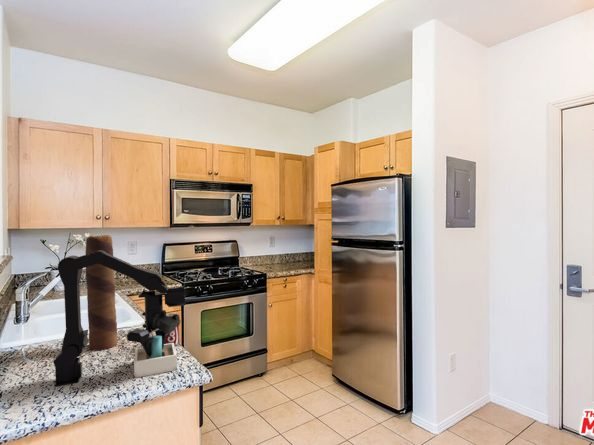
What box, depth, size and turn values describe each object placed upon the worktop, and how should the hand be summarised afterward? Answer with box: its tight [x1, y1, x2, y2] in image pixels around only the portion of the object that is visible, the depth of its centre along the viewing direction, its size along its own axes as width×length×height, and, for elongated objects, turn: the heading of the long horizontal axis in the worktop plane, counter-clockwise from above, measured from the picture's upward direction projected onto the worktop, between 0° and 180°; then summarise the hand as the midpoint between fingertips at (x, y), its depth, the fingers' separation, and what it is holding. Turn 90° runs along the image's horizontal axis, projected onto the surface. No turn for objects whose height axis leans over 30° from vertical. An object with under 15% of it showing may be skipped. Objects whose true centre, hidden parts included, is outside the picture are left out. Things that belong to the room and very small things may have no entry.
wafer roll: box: [85, 234, 118, 351], centre depth 141 cm, size 10×11×45 cm
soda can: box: [164, 313, 180, 347], centre depth 141 cm, size 7×7×12 cm
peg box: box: [133, 343, 178, 379], centre depth 122 cm, size 13×13×5 cm
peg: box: [150, 334, 162, 359], centre depth 122 cm, size 4×4×9 cm
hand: (155, 353), depth 122 cm, fingers open, 5 cm apart
